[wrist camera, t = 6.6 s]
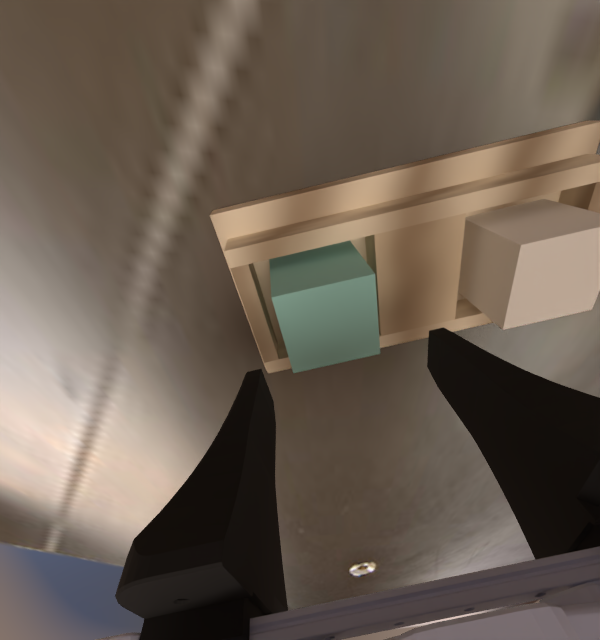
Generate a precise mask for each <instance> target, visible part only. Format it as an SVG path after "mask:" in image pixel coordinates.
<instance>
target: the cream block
mask: <svg viewBox="0 0 600 640" xmlns="http://www.w3.org/2000/svg"><path fill="white" fill-rule="evenodd" d="M599 291H600V213H597V212H593V211H589V210H586V209H582V208H578V207H574V206H570V205H566V204H563V203H559V202H555V201H551V200H547V199H540V200H536V201H531V202H527V203H523V204H519V205H514V206H510V207H506V208H502V209H497V210H493V211H489V212H485V213H480V214H476V215H472V216H467V217H466V219H465V228H464V238H463V247H462V257H461V267H460V276H459V286H458V292H459V293H460V294H461V295H462V296H464V297H465V298H466V299H467V300H468V301H469V302H471V303H472V304H473V305H474V306H475V307H477V308H478V309H479V310H480V311H481V312H482V313H484V314H485V315H486V316H487V317H488V318H489V319H491V320H492V321H493V322H494V323H495V324H497V325H498V326H499V327H500V328H501V329H502V330H504V329H509V328H513V327H518V326H522V325H526V324H531V323H535V322H540V321H544V320H549V319H553V318H557V317H562V316H566V315H571V314H575V313H580V312H584V311H589V310H592V308H593V306H594V303H595V301H596V298H597V296H598V293H599Z"/></svg>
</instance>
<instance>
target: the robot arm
mask: <svg viewBox="0 0 600 640" xmlns="http://www.w3.org/2000/svg"><path fill="white" fill-rule="evenodd" d="M427 367H428V369H429V371H430V373H431V375H432V377H433V379H434V380H435V382H436V384H437V386H438V388H439V389H440V391H441V392H442V394H443V395H444V397H445V398H446V399H447V401H448V402H449V404H450V405H451V407H452V408H453V409H454V411H455V412H456V414H457V415H458V417H459V418H460V419H461V421H462V422H463V424H464V425H465V427H466V428H467V429H468V431H469V432H470V434H471V435H472V437H473V438H474V440H475V442H476V443H477V445H478V447H479V449H480V450H481V452H482V454H483V456H484V457H485V459H486V461H487V463H488V465H489V466H490V468H491V470H492V472H493V474H494V476H495V478H496V479H497V481H498V483H499V485H500V487H501V489H502V491H503V493H504V495H505V497H506V499H507V501H508V503H509V505H510V507H511V509H512V511H513V513H514V515H515V517H516V519H517V521H518V523H519V525H520V527H521V529H522V531H523V533H524V535H525V538H526V540H527V542H528V544H529V546H530V548H531V550H532V553H533V555H534V557H535V559H536V560H531V561H526V562H521V563H517V564H512V565H507V566H502V567H497V568H492V569H488V570H483V571H478V572H473V573H468V574H463V575H459V576H454V577H449V578H444V579H439V580H434V581H429V582H425V583H420V584H415V585H410V586H405V587H400V588H396V589H391V590H386V591H381V592H376V593H371V594H366V595H362V596H357V597H352V598H347V599H342V600H337V601H333V602H328V603H323V604H318V605H313V606H308V607H304V608H299V609H294V610H289V611H288V607H287V599H286V590H285V582H284V574H283V565H282V555H281V546H280V536H279V525H278V514H277V502H276V489H275V444H276V421H275V411H274V402H273V399H272V396H271V394H270V391H269V388H268V386H267V383H266V380H265V378H264V375H263V372H262V370H261V369H259V370H254V371H250V372H247V373H246V375H245V377H244V380H243V382H242V385H241V387H240V390H239V392H238V394H237V397H236V399H235V401H234V403H233V405H232V407H231V410H230V412H229V414H228V416H227V418H226V420H225V421H224V423H223V425H222V427H221V429H220V431H219V433H218V434H217V436H216V438H215V439H214V441H213V443H212V444H211V446H210V448H209V449H208V451H207V452H206V454H205V455H204V457H203V458H202V460H201V461H200V463H199V464H198V465H197V467H196V468H195V470H194V471H193V472H192V474H191V475H190V476H189V478H188V479H187V480H186V482H185V483H184V484H183V485H182V487H181V488H180V489H179V490H178V492H177V493H176V494H175V495H174V496H173V498H172V499H171V500H170V501H169V502H168V504H167V505H166V506H165V507H164V508H163V509H162V510H161V512H160V513H159V514H158V515H157V516H156V517H155V518H154V519H153V520H152V521H151V522H150V523H149V524H148V525H147V526H146V527H145V528H144V529H143V531H142V532H141V533H140V534H139V535H138V536H137V537H136V538H135V539H134V541H133V543H132V546H131V548H130V551H129V553H128V556H127V559H126V563H125V566H124V569H123V572H122V576H121V579H120V582H119V585H118V588H117V592H116V595H115V596H116V599H117V601H118V603H119V604H120V605H121V606H122V607H124V608H126V609H127V610H129V611H131V612H133V613H135V614H137V615H138V616H140V617H142V618H144V623H143V627H142V632H141V633H126V634H121V635H116V636H111V637H106V638H101V639H97V640H341V639H346V638H351V637H356V636H361V635H365V634H371V633H376V632H381V631H386V630H390V629H395V628H400V627H405V626H410V625H415V624H420V623H425V622H430V621H435V620H440V619H445V618H450V617H455V616H459V615H464V614H469V613H474V612H479V611H484V610H489V609H494V608H499V607H504V606H509V605H514V604H519V603H523V602H528V601H533V600H538V599H541V600H540V603H534V604H526V605H521V606H516V607H511V608H506V609H501V610H496V611H492V612H487V613H482V614H477V615H472V616H467V617H462V618H457V619H452V620H447V621H442V622H437V623H433V624H429V625H425V626H421V627H418V628H414V629H412V630H410V631H408V632H405V633H403V634H401V635H399V636H395V637H392V638H388V639H385V640H600V398H599V397H595V396H592V395H589V394H586V393H583V392H580V391H577V390H574V389H571V388H568V387H565V386H563V385H560V384H557V383H555V382H552V381H549V380H547V379H545V378H542V377H540V376H537V375H535V374H532V373H530V372H528V371H525V370H523V369H521V368H519V367H517V366H515V365H512V364H510V363H508V362H506V361H504V360H502V359H500V358H498V357H496V356H494V355H492V354H490V353H489V352H487V351H485V350H483V349H481V348H479V347H478V346H476V345H474V344H472V343H470V342H469V341H467V340H465V339H463V338H462V337H460V336H458V335H456V334H455V333H453V332H451V331H449V330H447V329H446V328H444V327H443V328H439V329H434V330H430V331H429V341H428V365H427Z"/></svg>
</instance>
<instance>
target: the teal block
mask: <svg viewBox="0 0 600 640" xmlns="http://www.w3.org/2000/svg"><path fill="white" fill-rule="evenodd" d="M269 263H270V282H271V298H272V302H273V305H274V308H275V312H276V315H277V319H278V322H279V326H280V329H281V332H282V336H283V339H284V343H285V346H286V350H287V353H288V356H289V360H290V363H291V367H292V370H293V373H297V372H301V371H306V370H310V369H315V368H319V367H324V366H328V365H333V364H337V363H341V362H346V361H350V360H355V359H359V358H364V357H368V356H373V355H377V354H380V340H379V325H378V310H377V295H376V280H375V273H374V272H373V270H372V269H371V268H370V266H369V265H368V264H367V262H366V261H365V260H364V259H363V257H362V256H361V255H360V253H359V252H358V251H357V249H356V248H355V247H354V245H353V244H352V243H351V241H350V240H349V241H345V242H341V243H337V244H332V245H328V246H324V247H320V248H315V249H311V250H307V251H303V252H298V253H294V254H290V255H286V256H281V257H277V258H273V259H269Z"/></svg>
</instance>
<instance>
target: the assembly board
mask: <svg viewBox="0 0 600 640" xmlns="http://www.w3.org/2000/svg"><path fill="white" fill-rule="evenodd" d="M599 141H600V121H583V122H579V123H575V124H570V125H566V126H562V127H558V128H554V129H550V130H545V131H541V132H537V133H533V134H529V135H525V136H520V137H516V138H512V139H508V140H504V141H500V142H495V143H491V144H487V145H483V146H479V147H475V148H470V149H466V150H462V151H458V152H454V153H450V154H445V155H441V156H437V157H433V158H429V159H425V160H420V161H416V162H412V163H408V164H404V165H400V166H395V167H391V168H387V169H383V170H379V171H375V172H370V173H366V174H362V175H358V176H354V177H350V178H345V179H341V180H337V181H333V182H329V183H325V184H320V185H316V186H312V187H308V188H304V189H300V190H295V191H291V192H287V193H283V194H279V195H275V196H270V197H266V198H262V199H258V200H254V201H250V202H245V203H241V204H237V205H233V206H229V207H225V208H220V209H216V210H213V211H212V213H211V214H210V217H211V220H212V222H213V225H214V228H215V231H216V233H217V236H218V239H219V242H220V244H221V247H222V250H223V253H224V255H225V258H226V261H227V264H228V266H229V269H230V272H231V275H232V278H233V280H234V283H235V286H236V289H237V291H238V294H239V297H240V300H241V302H242V305H243V308H244V311H245V313H246V316H247V319H248V322H249V324H250V327H251V330H252V333H253V335H254V338H255V341H256V344H257V346H258V349H259V352H260V355H261V357H262V360H263V363H264V366H265V368H266V371H267V372H268V373H272V372H277V371H281V370H286V369H290V368H292V367H291V363H290V360H289V356H288V353H287V350H286V346H285V343H284V339H283V336H282V332H281V329H280V326H279V322H278V319H277V315H276V312H275V308H274V305H273V302H272V298H271V282H270V263H269V259H273V258H277V257H281V256H286V255H290V254H294V253H298V252H303V251H307V250H311V249H315V248H320V247H324V246H328V245H332V244H337V243H341V242H345V241H349V240H350V241H351V243H352V244H353V245H354V247H355V248H356V249H357V251H358V252H359V253H360V255H361V256H362V257H363V259H364V260H365V261H366V262H367V264H368V265H369V266H370V268H371V269H372V270H373V272H374V273H375V280H376V295H377V310H378V325H379V340H380V348H383V347H387V346H392V345H396V344H400V343H405V342H409V341H414V340H418V339H422V338H427V337H429V331H430V330H434V329H439V328H443V327H444V328H446V329H447V330H449V331H451V332H453V331H458V330H462V329H467V328H471V327H475V326H480V325H484V324H489V323H493V321H492V320H491V319H489V318H488V317H487V316H486V315H485V314H484V313H482V312H481V311H480V310H479V309H478V308H477V307H475V306H474V305H473V304H472V303H471V302H469V301H468V300H467V299H466V298H465V297H464V296H462V295H461V294H460V293H459V292H458V286H459V276H460V267H461V257H462V247H463V238H464V228H465V219H466V217H467V216H472V215H476V214H480V213H485V212H489V211H493V210H497V209H502V208H506V207H510V206H514V205H519V204H523V203H527V202H531V201H536V200H540V199H547V200H551V201H555V202H559V203H563V204H566V205H570V206H574V207H578V208H582V209H586V210H589V211H593V212H597V213H600V155H595V154H596V151H597V148H598V145H599Z"/></svg>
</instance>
